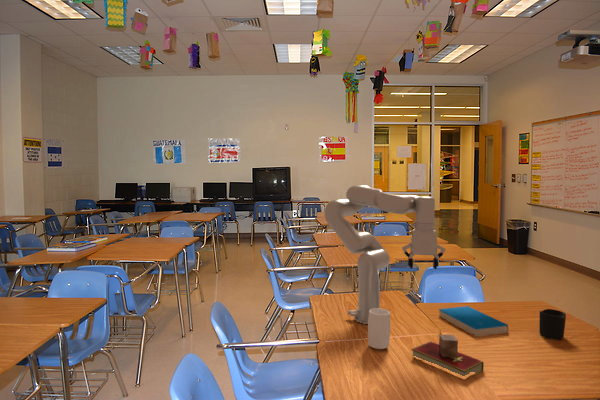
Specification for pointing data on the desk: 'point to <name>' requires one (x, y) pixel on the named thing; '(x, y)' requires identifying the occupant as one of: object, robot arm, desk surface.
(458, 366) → the hardcover book
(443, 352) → the walnut block
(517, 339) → the desk surface
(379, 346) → the cup
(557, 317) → the pen holder
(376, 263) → the robot arm
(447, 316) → the book
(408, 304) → the desk surface
